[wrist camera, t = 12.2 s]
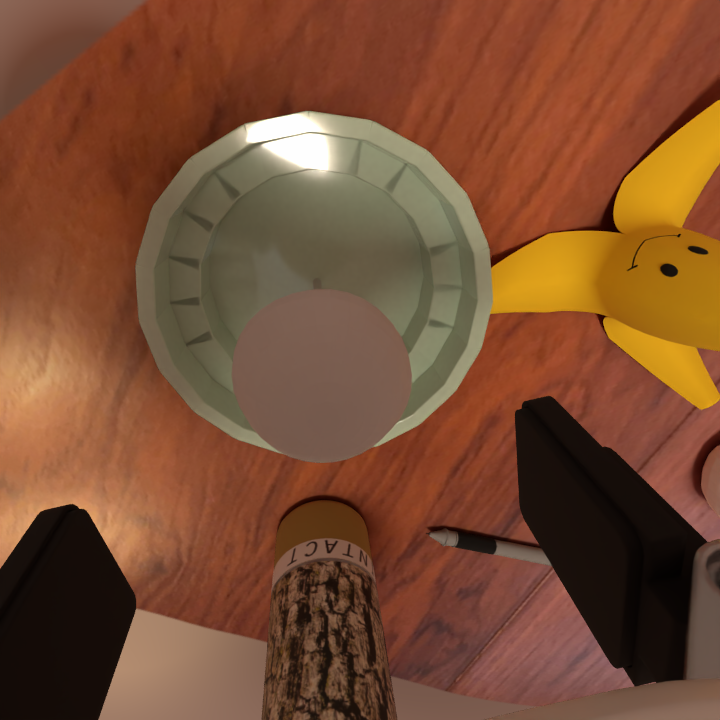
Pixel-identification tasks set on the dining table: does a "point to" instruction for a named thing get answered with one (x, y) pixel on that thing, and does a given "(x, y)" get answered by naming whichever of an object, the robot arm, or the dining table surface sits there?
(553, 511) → the robot arm
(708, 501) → the cat figurine
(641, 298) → the banana peel
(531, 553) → the pen
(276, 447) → the lollipop
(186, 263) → the bowl
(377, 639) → the paper tube
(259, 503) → the dining table surface
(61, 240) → the dining table surface
